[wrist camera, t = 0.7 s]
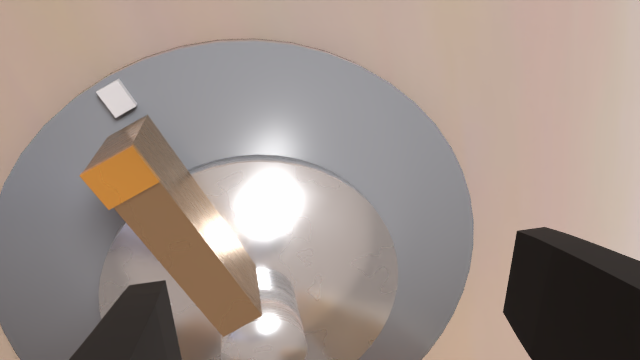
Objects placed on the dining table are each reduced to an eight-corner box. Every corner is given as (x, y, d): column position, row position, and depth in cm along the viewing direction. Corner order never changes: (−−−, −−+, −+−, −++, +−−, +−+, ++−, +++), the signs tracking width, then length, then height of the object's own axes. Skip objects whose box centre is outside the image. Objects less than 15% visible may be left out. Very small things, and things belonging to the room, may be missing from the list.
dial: (428, 312, 22) (469, 378, 18) (210, 430, 22) (209, 518, 19) (286, 32, 15) (306, 49, 12) (-20, 203, 16) (-91, 270, 12)
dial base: (187, 484, 25) (185, 509, 24) (-134, 210, 16) (-162, 228, 15) (509, 310, 25) (524, 327, 23) (361, -68, 16) (373, -72, 15)
